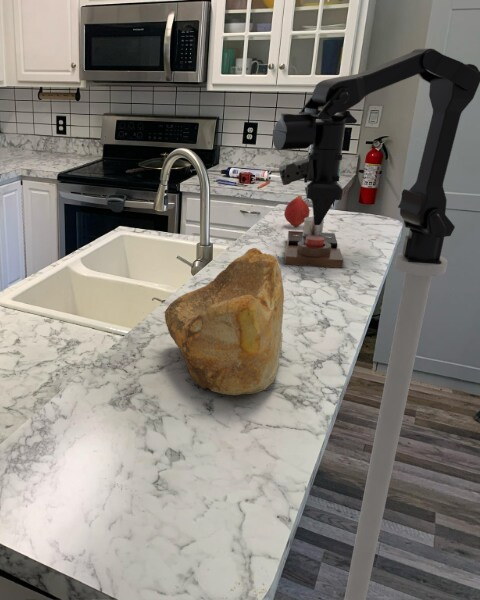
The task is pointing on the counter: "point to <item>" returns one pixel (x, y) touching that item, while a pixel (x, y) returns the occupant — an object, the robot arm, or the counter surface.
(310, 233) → the dial
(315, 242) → the button
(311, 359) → the counter surface
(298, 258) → the button block
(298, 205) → the onion
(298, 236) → the dial panel
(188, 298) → the rough brown rock
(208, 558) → the counter surface
